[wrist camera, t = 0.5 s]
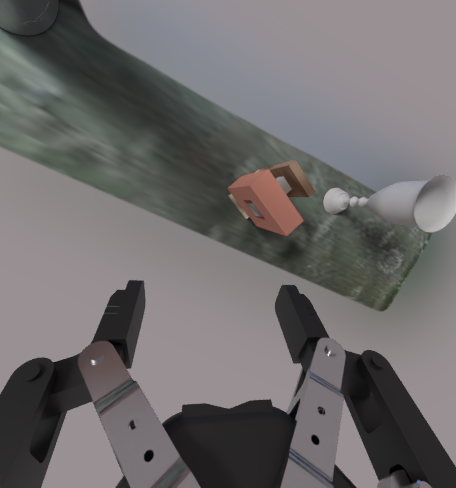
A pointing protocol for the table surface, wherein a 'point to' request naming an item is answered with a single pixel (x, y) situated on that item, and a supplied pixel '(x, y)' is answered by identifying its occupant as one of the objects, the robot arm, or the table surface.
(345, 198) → the chalice
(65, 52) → the table surface
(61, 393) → the robot arm
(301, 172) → the pipe stand
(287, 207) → the pink block with hole
